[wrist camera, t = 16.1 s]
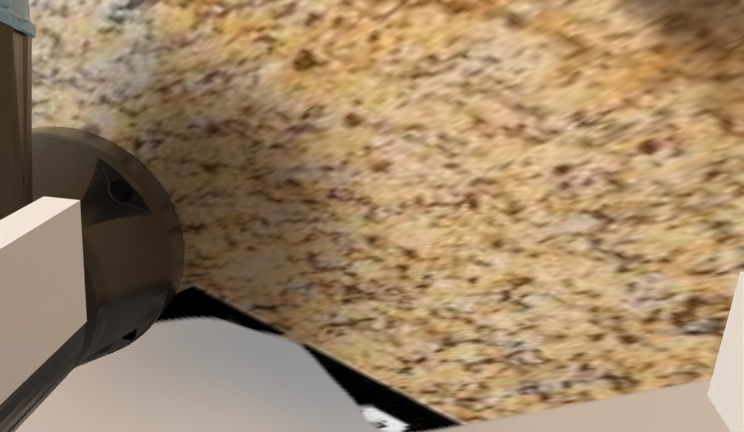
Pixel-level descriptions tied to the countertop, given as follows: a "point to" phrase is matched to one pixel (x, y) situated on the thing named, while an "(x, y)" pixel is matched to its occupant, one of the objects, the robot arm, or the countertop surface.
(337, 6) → the countertop surface
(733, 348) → the robot arm
